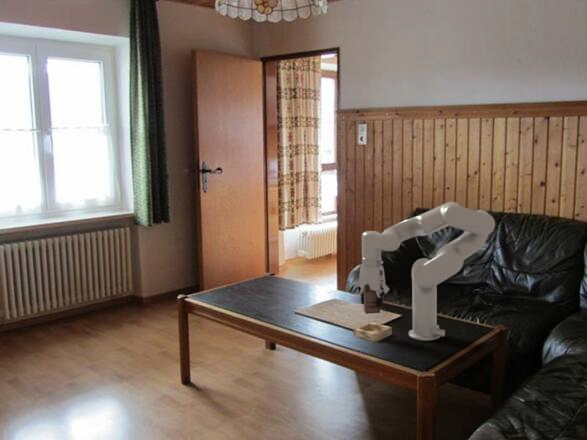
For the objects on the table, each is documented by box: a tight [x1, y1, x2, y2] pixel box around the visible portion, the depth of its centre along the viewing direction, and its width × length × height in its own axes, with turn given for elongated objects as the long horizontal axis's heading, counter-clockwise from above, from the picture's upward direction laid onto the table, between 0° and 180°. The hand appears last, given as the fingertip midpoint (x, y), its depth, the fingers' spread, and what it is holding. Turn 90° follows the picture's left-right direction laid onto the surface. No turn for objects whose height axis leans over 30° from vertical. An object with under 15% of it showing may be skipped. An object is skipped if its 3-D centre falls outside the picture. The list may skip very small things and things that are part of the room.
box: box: [363, 284, 381, 315], centre depth 246 cm, size 6×4×12 cm
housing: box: [353, 321, 393, 343], centre depth 248 cm, size 11×11×3 cm
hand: (371, 304), depth 246 cm, fingers closed on box, 6 cm apart
